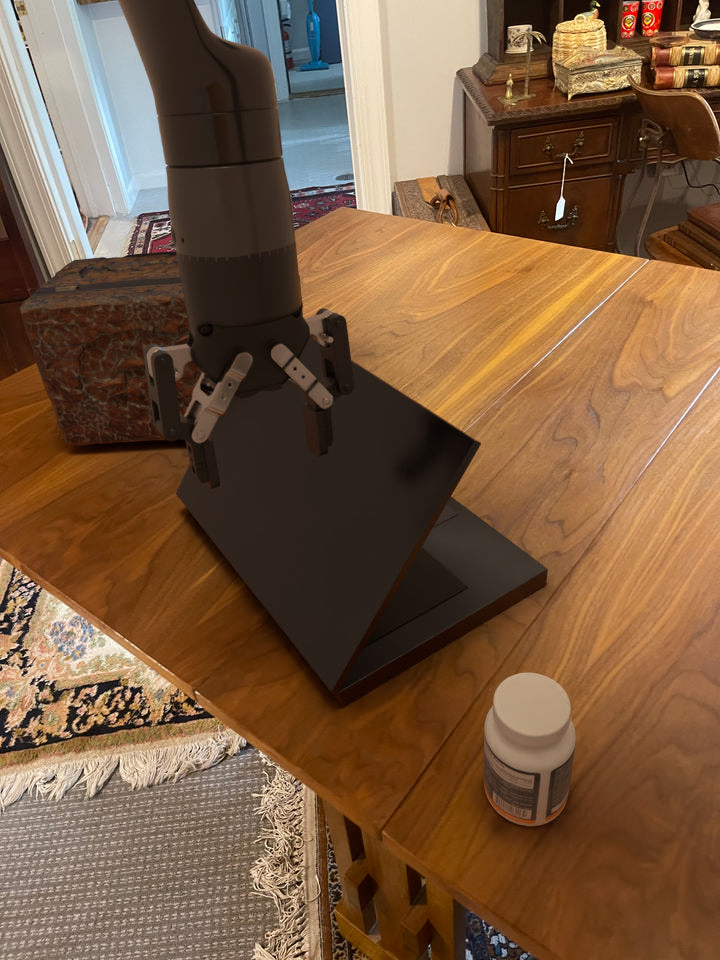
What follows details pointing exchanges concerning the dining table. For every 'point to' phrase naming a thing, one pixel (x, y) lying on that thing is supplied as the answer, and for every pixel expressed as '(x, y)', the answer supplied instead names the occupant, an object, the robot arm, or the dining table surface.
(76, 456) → the dining table surface
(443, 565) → the laptop
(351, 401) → the laptop screen
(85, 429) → the decorative box
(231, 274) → the robot arm
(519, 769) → the pill bottle
